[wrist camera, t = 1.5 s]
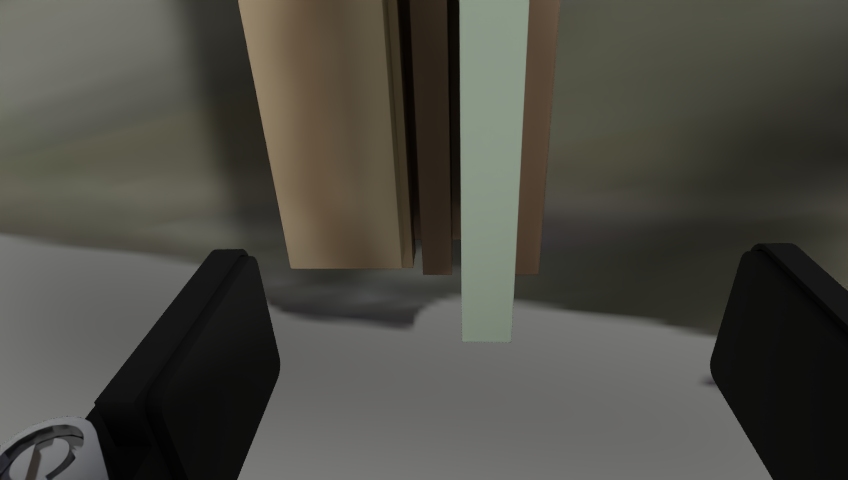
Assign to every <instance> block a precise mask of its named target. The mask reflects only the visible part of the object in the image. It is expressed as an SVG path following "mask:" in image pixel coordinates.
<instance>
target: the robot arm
mask: <svg viewBox="0 0 848 480" xmlns="http://www.w3.org/2000/svg"><path fill="white" fill-rule="evenodd" d="M710 369H711V374H712V377H713V379H714V381H715V383H716V384H717V386H718V388H719V390H720V391H721V393H722V395H723V396H724V398H725V400H726V401H727V403H728V405H729V406H730V408H731V410H732V411H733V413H734V415H735V416H736V418H737V420H738V421H739V423H740V425H741V427H742V428H743V430H744V432H745V433H746V435H747V437H748V438H749V440H750V442H751V443H752V445H753V447H754V448H755V450H756V452H757V453H758V455H759V457H760V459H761V460H762V462H763V464H764V465H765V467H766V469H767V470H768V472H769V474H770V475H771V477H772V479H773V480H848V291H847V290H846V289H845V288H843V287H842V286H841V285H840V284H839V283H838V282H837V281H836V280H834V279H833V278H832V277H831V276H830V275H829V274H828V273H827V272H825V271H824V270H823V269H822V268H821V267H820V266H819V265H818V264H816V263H815V262H814V261H813V260H812V259H811V258H810V257H809V256H807V255H806V254H805V253H804V252H803V251H802V250H801V249H800V248H798V247H797V246H796V245H794V244H790V243H771V244H757V245H755V246H754V247H753V248H752V249H751V251H747V252H745V253H744V254H743V255H742V257H741V260H740V263H739V267H738V270H737V273H736V277H735V280H734V283H733V287H732V290H731V293H730V297H729V300H728V303H727V307H726V310H725V313H724V317H723V320H722V323H721V327H720V330H719V333H718V337H717V340H716V343H715V347H714V350H713V353H712V357H711V361H710ZM279 371H280V358H279V353H278V349H277V345H276V340H275V336H274V332H273V328H272V323H271V319H270V314H269V310H268V306H267V301H266V297H265V293H264V288H263V284H262V280H261V276H260V271H259V267H258V263H257V260H256V258H255V257H253V256H248V254H247V252H246V251H245V250H243V249H219V250H213V251H212V252H211V253H210V254H209V256H208V257H207V258H206V259H205V261H204V262H203V263H202V265H201V266H200V267H199V268H198V270H197V271H196V272H195V274H194V275H193V276H192V277H191V279H190V280H189V281H188V283H187V284H186V285H185V286H184V288H183V289H182V290H181V292H180V293H179V294H178V295H177V297H176V298H175V299H174V300H173V302H172V303H171V304H170V306H169V307H168V308H167V309H166V311H165V312H164V313H163V315H162V316H161V317H160V318H159V320H158V321H157V322H156V324H155V325H154V326H153V328H152V329H151V330H150V331H149V333H148V334H147V335H146V337H145V338H144V339H143V340H142V342H141V343H140V344H139V345H138V347H137V348H136V349H135V351H134V352H133V353H132V354H131V356H130V357H129V358H128V360H127V361H126V362H125V363H124V365H123V366H122V367H121V369H120V370H119V371H118V372H117V374H116V375H115V376H114V378H113V379H112V380H111V381H110V383H109V384H108V385H107V386H106V388H105V389H104V390H103V392H102V393H101V394H100V395H99V397H98V398H97V399H96V401H95V402H94V403H95V407H94V408H93V409H92V410H91V412H90V413H89V414H88V416H87V417H86V418H85V419H83V418H81V417H70V416H66V417H60V418H53V419H49V420H46V421H43V422H41V423H38V424H35V425H33V426H31V427H29V428H27V429H25V430H23V431H21V432H19V433H17V434H16V435H14V436H13V437H11V438H10V439H9V440H7V441H6V442H4V443H3V444H2V445H0V480H237V478H238V476H239V474H240V471H241V469H242V466H243V463H244V461H245V459H246V456H247V454H248V451H249V449H250V446H251V444H252V441H253V439H254V436H255V434H256V431H257V428H258V426H259V424H260V421H261V419H262V416H263V414H264V411H265V409H266V406H267V404H268V401H269V399H270V396H271V394H272V391H273V389H274V387H275V384H276V381H277V379H278V376H279Z"/></svg>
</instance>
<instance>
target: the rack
mask: <svg viewBox="0 0 848 480" xmlns="http://www.w3.org/2000/svg"><path fill="white" fill-rule="evenodd" d="M238 3H239V8H240V13H241V18H242V23H243V28H244V33H245V38H246V43H247V49H248V54H249V59H250V64H251V69H252V74H253V79H254V84H255V89H256V94H257V99H258V104H259V109H260V114H261V119H262V124H263V130H264V135H265V140H266V145H267V150H268V155H269V160H270V165H271V170H272V175H273V180H274V185H275V190H276V195H277V200H278V206H279V211H280V216H281V221H282V226H283V231H284V236H285V241H286V246H287V251H288V256H289V261H290V266H291V269H402V268H413V265H414V259H415V252H416V251H415V240H422V259H423V275H452V251H453V239H461V137H460V0H238ZM559 8H560V0H529V15H528V34H527V53H526V72H525V91H524V110H523V129H522V148H521V167H520V186H519V205H518V224H517V243H516V261H515V275H538V273H539V260H540V248H541V235H542V223H543V210H544V197H545V185H546V172H547V160H548V147H549V134H550V122H551V109H552V97H553V84H554V71H555V59H556V46H557V34H558V21H559Z"/></svg>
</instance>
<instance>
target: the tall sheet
mask: <svg viewBox="0 0 848 480" xmlns="http://www.w3.org/2000/svg"><path fill="white" fill-rule="evenodd" d="M528 15H529V0H460V137H461V277H462V342H511V337H512V318H513V299H514V280H515V261H516V243H517V224H518V205H519V186H520V167H521V148H522V129H523V110H524V91H525V72H526V53H527V34H528Z"/></svg>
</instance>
